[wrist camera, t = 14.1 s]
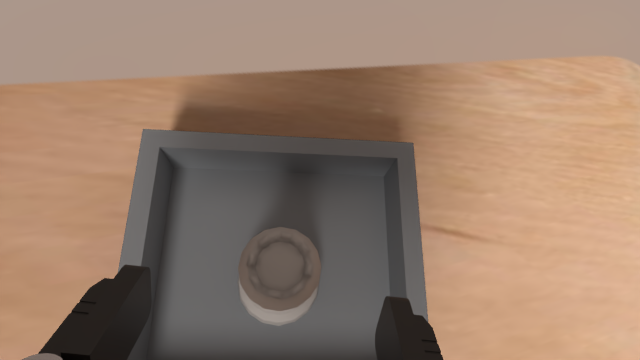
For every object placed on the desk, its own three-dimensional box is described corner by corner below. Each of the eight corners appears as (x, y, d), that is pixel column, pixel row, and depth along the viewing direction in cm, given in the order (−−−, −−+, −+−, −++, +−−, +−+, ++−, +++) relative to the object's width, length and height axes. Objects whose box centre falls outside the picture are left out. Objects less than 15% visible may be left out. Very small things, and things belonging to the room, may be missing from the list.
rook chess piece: (301, 338, 21) (315, 348, 14) (224, 307, 21) (197, 300, 14) (329, 260, 23) (355, 231, 15) (258, 232, 23) (249, 189, 15)
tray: (121, 431, 20) (85, 457, 16) (162, 157, 25) (142, 129, 21) (409, 425, 21) (438, 447, 18) (393, 168, 26) (413, 142, 23)
